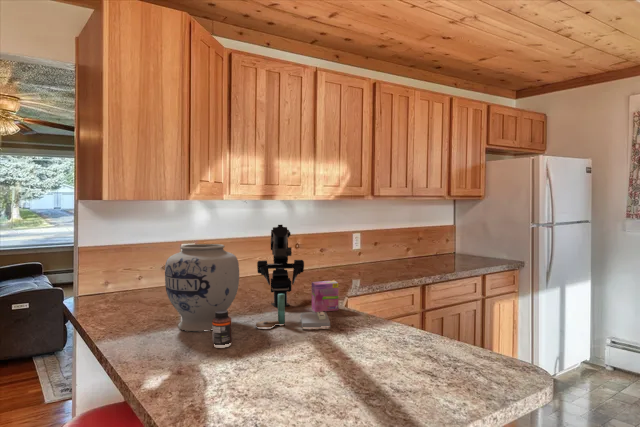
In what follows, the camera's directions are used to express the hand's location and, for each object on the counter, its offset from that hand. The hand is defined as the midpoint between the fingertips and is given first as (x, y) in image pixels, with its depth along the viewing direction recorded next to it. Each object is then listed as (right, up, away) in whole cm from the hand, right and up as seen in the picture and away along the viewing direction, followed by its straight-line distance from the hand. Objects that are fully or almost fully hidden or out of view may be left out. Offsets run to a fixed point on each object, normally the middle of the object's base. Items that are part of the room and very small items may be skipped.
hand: (281, 284), depth 170 cm
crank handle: (-3, -14, -11) cm, 18 cm away
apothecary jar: (-28, -14, -9) cm, 33 cm away
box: (+17, -13, +12) cm, 25 cm away
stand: (+13, -13, -8) cm, 21 cm away
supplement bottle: (-16, -15, -32) cm, 38 cm away
